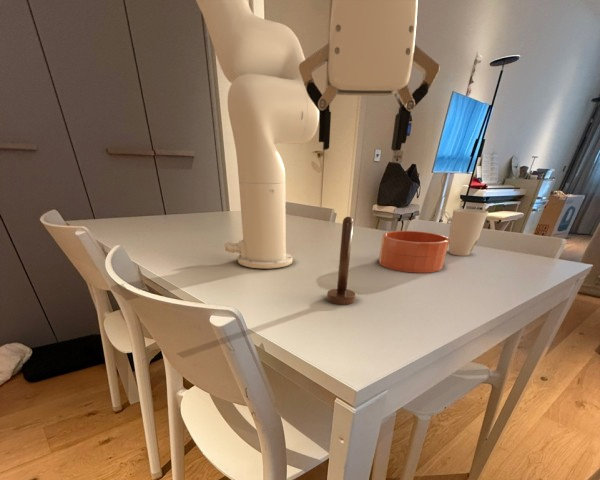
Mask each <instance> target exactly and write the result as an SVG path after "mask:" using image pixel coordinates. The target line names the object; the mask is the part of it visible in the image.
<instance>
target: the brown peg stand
mask: <svg viewBox="0 0 600 480" xmlns="http://www.w3.org/2000/svg"><path fill="white" fill-rule="evenodd" d="M353 228H354V220H353V218H352V217H351V216H345V217H344V218H343V220H342V226H341V239H340V249H339V263H338V273H337V285H336V288H332V289H329V290H328V291H327V293H326V300H327V301H328V302H329V303H331V304H334V305H344V306H345V305H351V304H354V303H355V301H356V292H355V291H353V290H351V289H348V277H349V268H350V259H351V258H350V257H351V250H352V249H351V248H352V237H353Z"/></svg>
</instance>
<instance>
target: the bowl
mask: <svg viewBox="0 0 600 480" xmlns="http://www.w3.org/2000/svg"><path fill="white" fill-rule="evenodd" d="M448 249H449V236H446V235H442V234H439V233H435V232H427V231H417V230H416V231H415V230H394V231H393V230H392V231H387V232H384V233H383V234H382V238H381V244H380V252H379V258H378V263H379V265H380V266H382V267H384V268H387V269H389V270H393V271H398V272H404V273H414V274H415V273H416V274H418V273H419V274H427V273H436V272H439V271H441V270H442V269H443V266H444V262H445V259H446V255H447V251H448Z"/></svg>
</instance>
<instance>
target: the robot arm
mask: <svg viewBox="0 0 600 480" xmlns="http://www.w3.org/2000/svg"><path fill="white" fill-rule="evenodd" d="M195 2H196V4H197V6H198V8H199V10H200V12H201V15H202V17H203V19H204V23H205V25H206V29H207V32H208V35H209V37H210V41H211V43H212V47H213V49H214V52H215V55H216V59H217V60H218V61H217V62H218V63H219V64H218V65H219V66H220V69H221V71H222V73H223V75H224V77H225V78H226V80H227V81H228V82H229V83H230V86H229V89H228V92H227V111H228V117H229V121H230V127H231V131H232V136H233V141H234V147H235V155H236V164H237V174H238V175H237V177H238V187H239V202H240V215H241V226H242V227H241V229H242V239H241V240H239V241H238V242H233V241H225V242H224V250H225V252H228V253H238V254H239V255H238V256H237V262H238V264H239V265H241V266H244V267H245V268H252V269H263V270H264V269H280V268H284V267H289V266H290V265H291V264H292V263H293V255H292V254H290V253H287V236H286V235H287V233H286V231H287V229H286V228H287V227H286V226H287V225H286V224H287V223H286V222H287V221H286V220H287V218H286V214H287V211H286V203H287V202H286V170H285V166H284V162H283V159H282V157H281V154H280V153H279V151H278V149H277V147H276V145H275V144H288V145H302V144H306V143H308V142H310V141H311V139H313V138H314V136H315V135H316V132H317V129H318V143H323V146H322V147H323V148H322V149H323V151H327V150H328V149H330V143H331V141H330V140H331V139H330V138H331V123H332V122H331V121H332V111H330V110H331V109H330V107H331V106H330V105H331V104H332V103H333V100H334V99H335V97H336V96H337V95H338V96H355V97H357V96H359V97H361V96H362V97H363V96H364V97H365V96H367V97H368V96H369V97H386V96H393V98H394V100H395V103H396V104H397V106H398V113H396V114H395V118H394V125H393V131H392V132H393V133H392V141H391V147H390V149H391V150H392V151H393V152H398V151H401V150H402V144H406V141H407V137H408V131H409V124H410V118H411V112H412V111H413V110H414V109H415V107H417V106H418V104H419V103H420V102H421V101H422V100H423V99H424V98H425V97H426V96H427V94H428V92H429V90H430V88H431V87H432V85H433V83H434V81H435V80H436V78H437V76H438V74H439V73H440V69H441V66H440V64H439V63H437V62H436V61H435V59H433V58H432V57H431V56H430V55H428V54H427V53H426V52H425V51H423V50H422V49H421V48H420V47H419V46H417V45H416V44H415V43H416V31H417V21H418V20H417V17H418V3H419V0H332V3H331V12H330V21H329V23H330V24H329V34H328V35H329V36H328V43H327V44H325V45H324V46H322V47H321V48H319V49H318V50H317V51H315V52H314V53H312V54H311V55H309V56H308V57H307V58H305V55H304V51H303V48H302V46H301V43H300V40H299V39H298V37H297V35H296V34H295V33H294V31H293V30H292V29H291V28H290V27H288V26H287V25H286V24H283V23H280V22H277V21H274V20H269V19H266V18H263V17H260V16H258V15H256V14H255V13H254V12H253V11H252V10H251V7H250V5H249V2H248V0H195ZM325 64H326V86H327V87H326V89H325V91H324V92H323V93H322V92H321V91H320V89H319V87H318V86H317V85H316V83H315V80H314V78H313V74H314V73H313V72H314V71H316V70H317V69H319V68H321V67H322V66H324V65H325ZM413 67H414V68H416V69H417V70H418V71H420V72H421V74H422V79H421V80H420V82H419V84H418V86H417V87H416V88H415V90H413V92H412V93H411V91H410V88H409V86H408V83H409V81H410V79H411V73H412V68H413Z"/></svg>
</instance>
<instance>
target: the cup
mask: <svg viewBox="0 0 600 480" xmlns="http://www.w3.org/2000/svg"><path fill="white" fill-rule="evenodd" d="M488 215H489V211H488V210H483V209H474V208H472V209H471V208H455V209H453V210H452V215H451V221H450V226H449V234H448V235H449V236H448V238H449V244H448V253H449V254H451V255H454V256H461V257H467V256H469V255H470V254H471V253H472V251H473V250H474V248H475V247H476V245H477V242H478V240H479V238H480V236H481V234H482V231H483V230H484V226H485V225H486V221H487V218H488Z"/></svg>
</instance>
